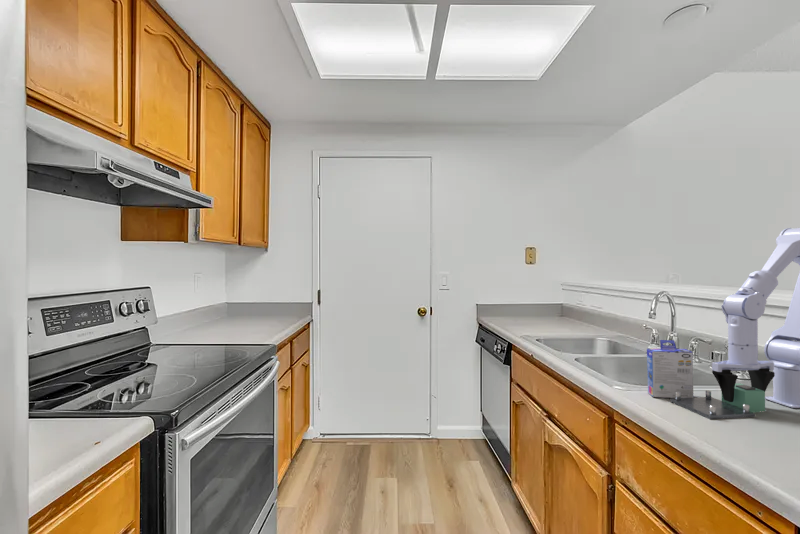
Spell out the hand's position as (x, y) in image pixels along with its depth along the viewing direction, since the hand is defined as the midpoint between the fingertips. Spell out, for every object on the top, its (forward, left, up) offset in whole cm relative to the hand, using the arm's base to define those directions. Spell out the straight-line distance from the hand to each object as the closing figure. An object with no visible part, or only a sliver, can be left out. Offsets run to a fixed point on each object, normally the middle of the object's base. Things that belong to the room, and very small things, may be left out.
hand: (742, 400), depth 110 cm
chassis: (+8, 0, -2) cm, 9 cm away
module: (0, 0, -2) cm, 2 cm away
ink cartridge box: (+10, -12, -2) cm, 16 cm away
